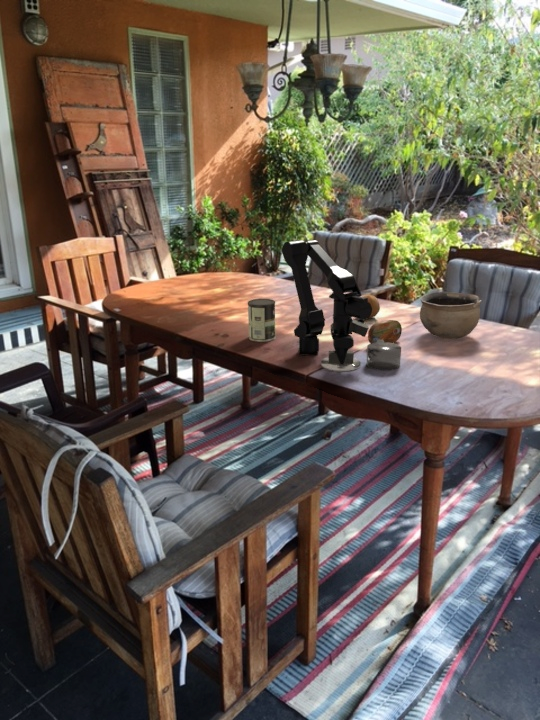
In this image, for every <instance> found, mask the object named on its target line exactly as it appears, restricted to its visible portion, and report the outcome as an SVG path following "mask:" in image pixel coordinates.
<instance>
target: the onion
mask: <svg viewBox="0 0 540 720" xmlns="http://www.w3.org/2000/svg"><path fill="white" fill-rule="evenodd" d="M362 297H366V298H368V302H369V303H370V304H371V307H372V313H371V315H370V317H369V318H368V319H372V318H374V317H376V316H377V315H378V314H379V312H380V311H381V310H380V308H381V306H380V305H381V304H380V302H379V300H378V298H377V297H376V296H375V295H372V293H371V294H370V293H369V294H365V295H363V296H362ZM368 319H367V320H368Z"/></svg>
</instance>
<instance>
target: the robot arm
mask: <svg viewBox="0 0 540 720" xmlns="http://www.w3.org/2000/svg"><path fill="white" fill-rule="evenodd" d="M281 254H282V256H283V257H282V258H284V262H285V263H286V264H287V265H288V267H289V268H290V269H291V272H292V275H293V276H292V277H293V280H294V281H293V282H294V284H295V285H294V286H295V289H296V293H297V298H298V301H299V305H300V306H299V307H300V312H299V316H298V325H297V326H296V327H295V328H294V330H293V334H294V337H296V338H298V355H300V356H306V355H307V356H309V355H310V356H313V355H315V356H316V355H318V353H319V351H320V339H319V338H318V336H320V335H322V334H323V331H324V329H325V326H326V323H325V321H326V318H325V315H324V311H323V309H319V308H318V307H317V306H316V303H315V299H314V295H313V291H312V287H311V283H310V279H309V278H310V277H309V274H308V269H307V265H306V264H307V261H308V258H310V259H311V261H312V262H313V263H314V264H315V265H316V266H317V268H318V269H319V270H320V271H321V272H322V273H323V275H325V277H326V282H327V285H328V287H329V288H330V290H331V291H332V293H331V294H329V296H328V298H329V299H332V300H333V308H332V309H333V312H332V313H333V314H332V323H331V324H330V329H329V330H330V335H331V338H332V341H333V342H332V345H333V348H334V349H333V350H334V351H336V354H337V356H338V359H339V362H340V364H344V361H345V357H346V354H347V351H350V349H352V348H353V347H354V346H355V345H354V343H355V341H354V337H352V335H353V333H354V334H356V335H359V336H361V337H363V338H366V335H367V334H368V331H369V329H370V328H369V325H368V324H367V323H365V321H366V320H368V318H369V317H370V315H371V313H372V307H371V304H370V303H369V302H368V298H366V297H363V296H362V295H363V294H362V293H361V290H360V288H359V286H358V283H357V280H356V277H355V276H354V275H353V274H352V273H350V272H349V271H348V270H347V269H344V268H342V267H340V266H338V264H337V263H336V262H335V261H334V260H333V259H332V258H331V256H330V255H329V254H328V253H327V252H326V251H325V250H324V249H323V248H322V247H321V245H320V243H319V241H318V240H315V239H312V240H306V241H304V240H302V239H298V240H291V241H285V242H284V243H283V245H282V247H281ZM353 318H356V319H353ZM369 319H370V318H369Z"/></svg>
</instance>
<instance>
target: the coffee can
mask: <svg viewBox="0 0 540 720" xmlns="http://www.w3.org/2000/svg"><path fill="white" fill-rule="evenodd" d="M247 307H248V309H247V314H248V339H249V340H250V341H252V342H257V343H259V342H260V343H263V342H264V343H265V342H270V341H274V340H276V300H274V299H271V298H255V299H250V300H248V301H247Z"/></svg>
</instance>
